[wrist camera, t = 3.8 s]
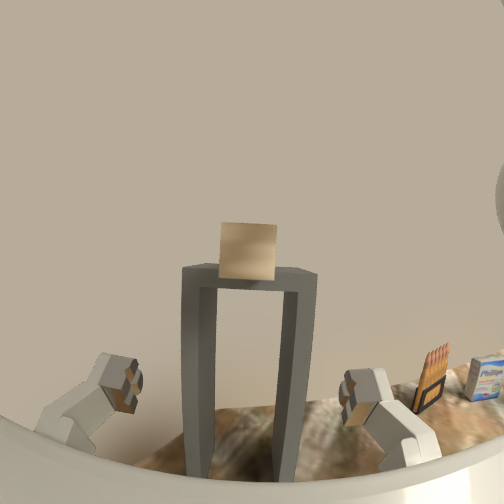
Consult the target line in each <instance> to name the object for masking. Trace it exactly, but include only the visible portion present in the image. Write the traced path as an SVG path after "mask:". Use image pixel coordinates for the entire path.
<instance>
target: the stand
mask: <svg viewBox="0 0 504 504" xmlns="http://www.w3.org/2000/svg"><path fill="white" fill-rule="evenodd" d="M218 288H228V289H245V290H265V291H284V301H283V317H282V331H281V346H280V358H279V372H278V384H277V395H276V405H275V416H274V426H273V436H272V446H271V453H272V467H273V482H293V480H294V474H295V469H296V463H297V457H298V451H299V445H300V438H301V432H302V425H303V418H304V411H305V403H306V395H307V387H308V379H309V369H310V361H311V351H312V340H313V329H314V318H315V305H316V291H317V274H316V273H312V272H309V271H306V270H303V269H300V268H292V267H275V275H274V281H273V280H252V279H233V278H219V264H212V263H204V264H199V265H193V266H187V267H183V269H182V298H181V300H182V301H181V380H182V381H181V382H182V410H183V411H182V412H183V432H184V448H185V461H186V474H187V476H189V477H197V478H205V479H207V477H208V473H209V469H210V464H211V460H212V455H213V451H214V446H215V352H216V351H215V350H216V315H217V289H218Z"/></svg>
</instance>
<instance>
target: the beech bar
mask: <svg viewBox="0 0 504 504" xmlns="http://www.w3.org/2000/svg"><path fill="white" fill-rule="evenodd" d="M276 234H277V225H267V224H248V223H226V222H222V223H221V240H220V260H219V278H233V279H252V280H273V281H274V275H275V254H276Z"/></svg>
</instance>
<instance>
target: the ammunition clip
mask: <svg viewBox="0 0 504 504" xmlns="http://www.w3.org/2000/svg"><path fill="white" fill-rule="evenodd" d="M448 354H449V344H448V343H447V344H446V346H445V345H444V346H443V347H441V346H440V348H439V350H438V348H437V349H436V351H434V350H433V351H432V353H431V354H430V352H429V353H428V355H427V357H426V360H425V363H424V367H423V371H422V374H421V377H420V381H419V386H418V387H417V388H416V392H415V396H414V400H413V404H412V407H411V412H412V413H415V414H420V413H421V412H422V411H424V410H425V409H426V408H428V407H429V406H430V405H432V404H433V403H434V402H435V401H437V400H438V399H439V398H440V397H441V396H442V392H443V387H444V383H445V379H446V375H445V373H446V368H447V362H448V361H447V360H448Z"/></svg>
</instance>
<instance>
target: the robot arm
mask: <svg viewBox="0 0 504 504" xmlns="http://www.w3.org/2000/svg"><path fill="white" fill-rule="evenodd" d="M501 2H502V4H503V6H504V0H501ZM496 210H497V216H498V219H499V223H500V226H501V229H502V231H503V233H504V165H503V166H502V168H501V171H500V173H499V177H498V180H497V186H496ZM138 365H139V364H138V362H137V359H133V358H127V357H122V356H117V355H112V354H107V353H101V354H100V355H99V357H98V359H97V361H96V363H95V365H94V367H93V369H92V371H91V374H90V375H89V378H88V380H87V382H82V383H81V384H79V385H78V386H76V387H75V388H73V389H72V390H71V391H69V392H68V393H66V394H65V395H63V396H62V397H60V398H59V399H58V400H56V401H54V402H53V403H51V404H50V405H49V406H47V407H46V408H44V410H43V412H42V415H41V417H40V419H39V421H38V424H37V426H36V428H35V430H34V432H33V431H31V430H29V429H27V428H25V427H22V426H20V425H18V424H16V423H14V422H12V421H10V420H9V419H7V418H5V417H3V416H1V415H0V504H504V434H503V435H500V436H497V437H495V438H493V439H491V440H488V441H486V442H483V443H481V444H478V445H476V446H473V447H471V448H468V449H465V450H462V451H460V452H457V453H454V454H451V455H448V456H444V457H442V454H441V451H440V448H439V444H438V441H437V438H436V435H435V432H434V431H433V430H432V429H431V428H430V427H429V426H427V425H426V424H425V423H424V422H423V421H422V420H421V419H419V418H418V417H417V416H416V415H415V414H414V413H412V412H411V411H410V410H409V409H408V408H407V407H406V406H404V405H403V404H402V403H401V402H400V401H399V400H394V397H393V394H392V390H391V387H390V385H389V382H388V378H387V375H386V372H385V370H384V368H372V369H370V368H368V369H354V370H347V371H346V372H345V375H344V377H345V380H344V381H342V382H341V384H340V387H339V402H340V404H341V405H342V406H343V407H344V409H343V411H342V413H341V414H342V419H343V425H344V426H358V425H363V426H364V428H365V429H366V430H367V431H368V432H369V433H370V435H371V436H372V437H373V438H374V439H375V441H376V442H377V443H378V444H379V445H380V446H381V448H382V449H383V450H384V451H385V452H386V453H387V456H386V457H385V458H384V459H383V460H382V461H381V462H380V463H379V465H378V468H379V473H375V474H369V475H363V476H356V477H349V478H341V479H331V480H320V481H305V482H240V481H225V480H214V479H205V478H197V477H189V476H182V475H176V474H170V473H164V472H159V471H154V470H149V469H145V468H140V467H136V466H132V465H128V464H124V463H120V462H116V461H113V460H109V459H106V458H102V457H99V456H96V455H94V453H95V450H96V447H95V445H94V444H93V443H92V442H91V440H90V439H89V438H88V437H89V436H90V435H91V434H92V433H93V432H94V431H95V430H96V429H97V428H98V427H99V426H100V425H102V424H103V423H104V422H105V421H106V420H107V419H108V418H109V417H110V416H111V415H112V414H113V413H114V412H115V411H119V412H125V413H130V414H134V412H135V409H136V406H137V402H138V401H137V398H136V396H137V395H138V394H139V393H141V390H142V386H143V375H142V372H141V371H140V370H139V369H138Z"/></svg>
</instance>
